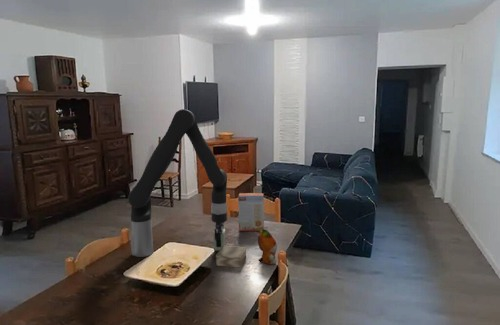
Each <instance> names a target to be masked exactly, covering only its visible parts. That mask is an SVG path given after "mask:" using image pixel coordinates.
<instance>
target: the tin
mask: <svg viewBox="0 0 500 325" xmlns="http://www.w3.org/2000/svg"><path fill="white" fill-rule="evenodd" d="M226 231H227V230H226V228H224V229H223V230H222V235H221V247H216V240H215V232H214V231H213V232H212V233H213V234H212V235H213V251H219V250H220V249H221V248H222V246H227V245H226V240H227V239H226ZM220 233H221V232H220ZM217 237H219V236H217Z"/></svg>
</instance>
